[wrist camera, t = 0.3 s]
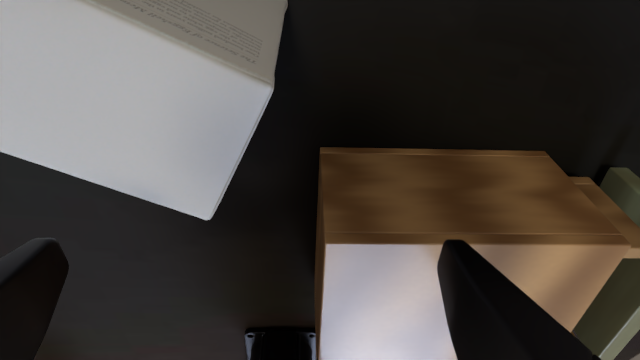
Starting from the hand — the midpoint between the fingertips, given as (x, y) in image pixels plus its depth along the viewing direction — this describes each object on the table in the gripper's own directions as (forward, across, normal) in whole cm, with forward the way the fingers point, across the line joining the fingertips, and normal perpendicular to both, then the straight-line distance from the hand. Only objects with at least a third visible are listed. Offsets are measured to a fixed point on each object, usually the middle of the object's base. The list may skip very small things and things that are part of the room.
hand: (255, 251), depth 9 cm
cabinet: (+15, -9, +12) cm, 21 cm away
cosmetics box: (+15, +6, -2) cm, 16 cm away
